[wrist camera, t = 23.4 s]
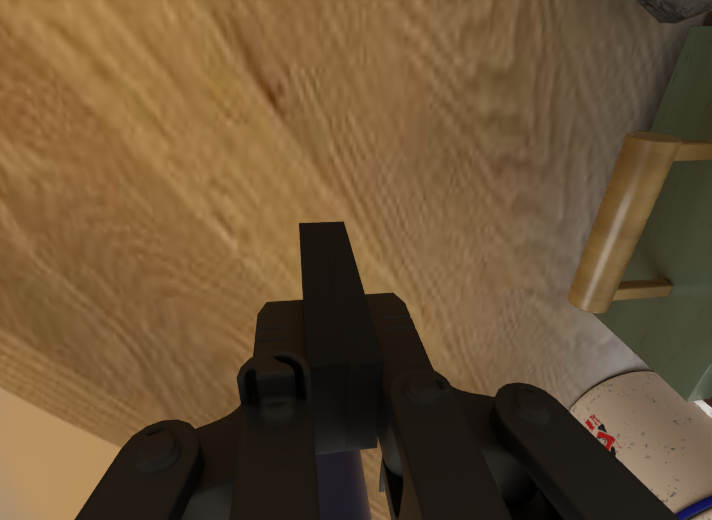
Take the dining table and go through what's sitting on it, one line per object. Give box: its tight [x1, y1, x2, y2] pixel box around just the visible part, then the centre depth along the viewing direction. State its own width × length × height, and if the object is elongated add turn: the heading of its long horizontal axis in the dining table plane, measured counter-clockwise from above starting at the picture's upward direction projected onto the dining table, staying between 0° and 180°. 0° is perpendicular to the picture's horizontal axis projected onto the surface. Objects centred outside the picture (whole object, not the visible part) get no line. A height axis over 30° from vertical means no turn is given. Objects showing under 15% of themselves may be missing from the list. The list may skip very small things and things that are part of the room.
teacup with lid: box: [569, 371, 712, 520], centre depth 26 cm, size 12×9×12 cm
